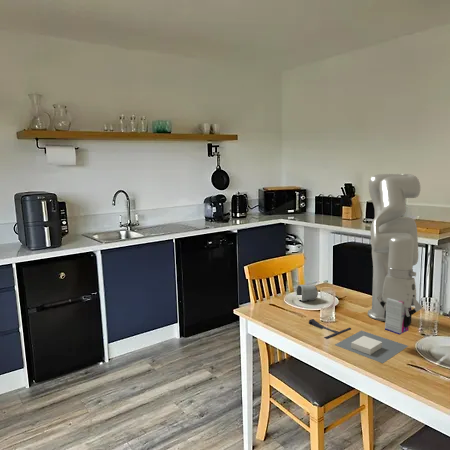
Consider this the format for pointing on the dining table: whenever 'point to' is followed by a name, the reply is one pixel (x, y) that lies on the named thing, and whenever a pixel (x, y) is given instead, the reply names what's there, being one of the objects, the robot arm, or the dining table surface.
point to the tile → (366, 345)
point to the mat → (380, 355)
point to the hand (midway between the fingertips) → (397, 323)
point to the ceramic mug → (307, 292)
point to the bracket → (327, 328)
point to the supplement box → (395, 317)
